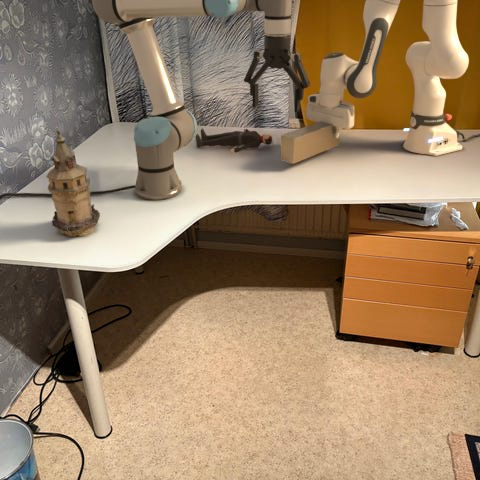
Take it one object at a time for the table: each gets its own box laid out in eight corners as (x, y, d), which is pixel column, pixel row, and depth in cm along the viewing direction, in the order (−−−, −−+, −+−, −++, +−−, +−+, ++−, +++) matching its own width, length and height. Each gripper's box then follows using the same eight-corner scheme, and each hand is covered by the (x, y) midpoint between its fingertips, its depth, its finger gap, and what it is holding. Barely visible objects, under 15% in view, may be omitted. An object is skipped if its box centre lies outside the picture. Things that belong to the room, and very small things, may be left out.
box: (293, 163, 190) (294, 138, 185) (280, 159, 193) (281, 135, 189) (338, 145, 206) (340, 121, 202) (326, 141, 210) (328, 118, 206)
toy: (206, 122, 226) (276, 122, 220) (207, 136, 229) (277, 136, 223) (189, 142, 204) (266, 142, 198) (190, 157, 207) (267, 158, 201)
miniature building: (80, 214, 164) (63, 117, 149) (111, 225, 157) (96, 125, 142) (44, 231, 154) (22, 130, 140) (75, 244, 147) (55, 139, 133)
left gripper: (323, 34, 151) (319, 109, 161) (243, 30, 160) (243, 101, 171) (315, 38, 145) (311, 116, 155) (232, 34, 154) (233, 107, 165)
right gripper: (359, 102, 193) (356, 139, 200) (314, 93, 206) (312, 128, 213) (349, 106, 189) (346, 143, 196) (304, 96, 202) (302, 131, 209)
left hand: (276, 108), depth 163 cm, fingers open, 13 cm apart
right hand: (328, 135), depth 204 cm, fingers closed on box, 6 cm apart
